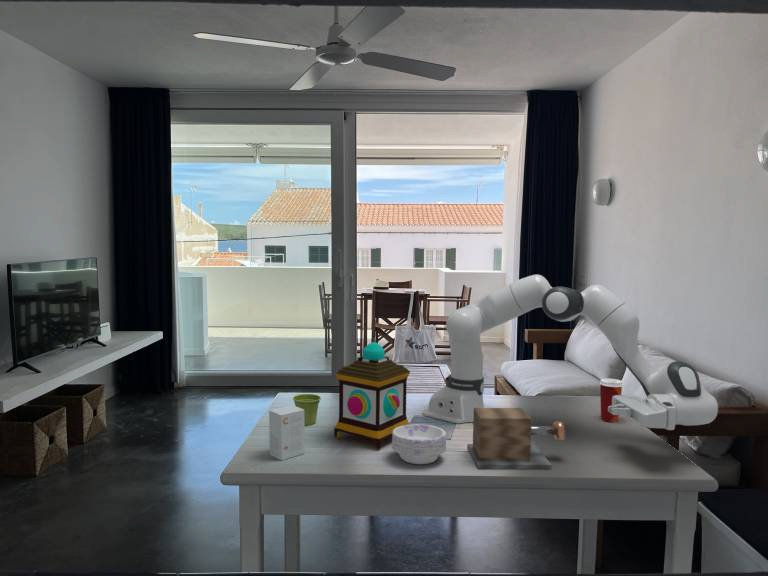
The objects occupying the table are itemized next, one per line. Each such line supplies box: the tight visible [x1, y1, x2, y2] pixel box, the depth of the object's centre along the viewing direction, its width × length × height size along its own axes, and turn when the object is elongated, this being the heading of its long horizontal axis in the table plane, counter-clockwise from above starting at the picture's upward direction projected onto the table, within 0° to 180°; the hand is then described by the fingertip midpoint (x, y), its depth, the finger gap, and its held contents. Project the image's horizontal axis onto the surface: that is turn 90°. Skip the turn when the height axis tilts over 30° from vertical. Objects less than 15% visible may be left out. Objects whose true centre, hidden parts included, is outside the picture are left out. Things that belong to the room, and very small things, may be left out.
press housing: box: [466, 407, 553, 470], centre depth 158 cm, size 20×16×13 cm
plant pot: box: [292, 393, 322, 426], centre depth 188 cm, size 9×9×9 cm
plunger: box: [531, 420, 566, 441], centre depth 158 cm, size 17×6×5 cm, turn 92°
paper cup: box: [599, 377, 624, 423], centre depth 195 cm, size 8×8×14 cm
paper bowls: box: [391, 423, 447, 465], centre depth 157 cm, size 15×15×8 cm
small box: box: [268, 405, 306, 461], centre depth 159 cm, size 8×6×13 cm
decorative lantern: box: [333, 341, 411, 451], centre depth 174 cm, size 20×20×30 cm
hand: (610, 410), depth 158 cm, fingers closed
